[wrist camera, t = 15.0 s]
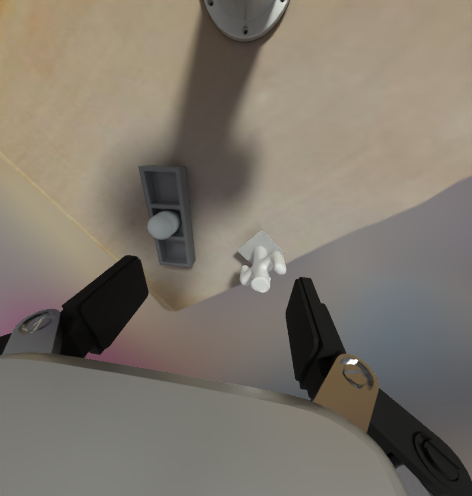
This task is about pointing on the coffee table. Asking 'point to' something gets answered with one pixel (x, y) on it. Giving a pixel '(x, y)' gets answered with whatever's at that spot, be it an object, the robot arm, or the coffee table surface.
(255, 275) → the figurine
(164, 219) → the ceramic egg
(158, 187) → the grey compartment tray
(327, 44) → the coffee table surface
